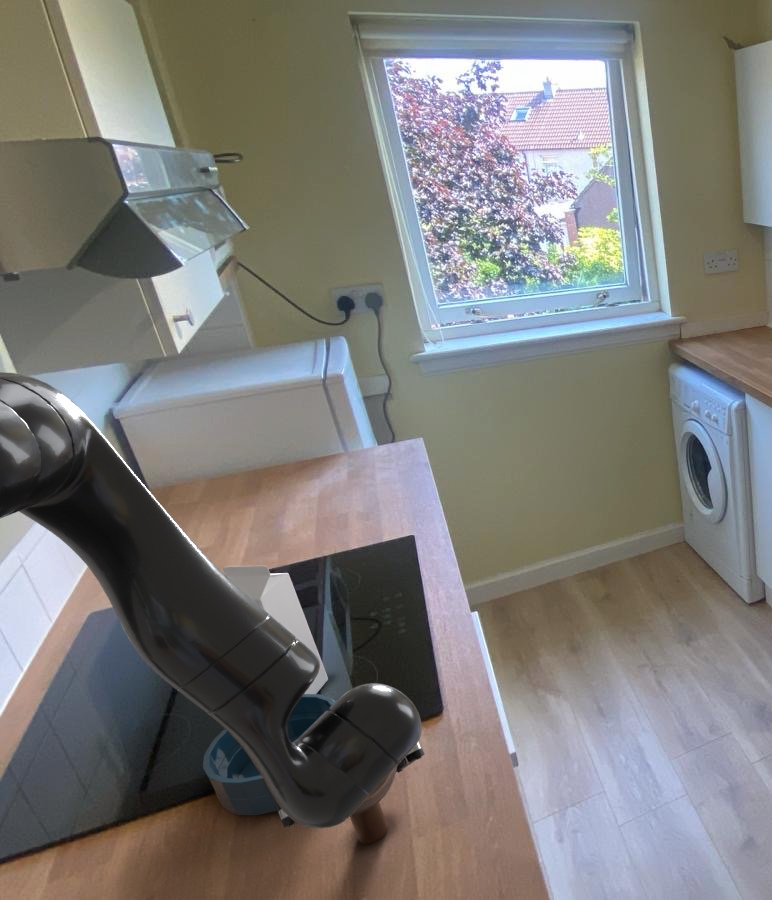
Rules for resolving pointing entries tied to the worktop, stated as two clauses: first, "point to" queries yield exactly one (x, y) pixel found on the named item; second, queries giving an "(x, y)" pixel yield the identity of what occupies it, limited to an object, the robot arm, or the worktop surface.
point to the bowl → (237, 772)
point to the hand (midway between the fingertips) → (354, 785)
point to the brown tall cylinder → (370, 825)
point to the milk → (277, 606)
